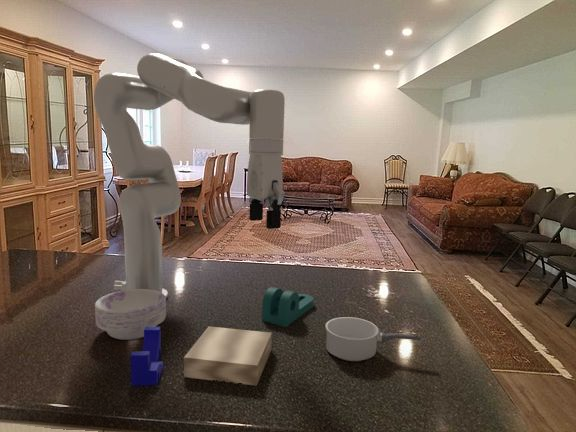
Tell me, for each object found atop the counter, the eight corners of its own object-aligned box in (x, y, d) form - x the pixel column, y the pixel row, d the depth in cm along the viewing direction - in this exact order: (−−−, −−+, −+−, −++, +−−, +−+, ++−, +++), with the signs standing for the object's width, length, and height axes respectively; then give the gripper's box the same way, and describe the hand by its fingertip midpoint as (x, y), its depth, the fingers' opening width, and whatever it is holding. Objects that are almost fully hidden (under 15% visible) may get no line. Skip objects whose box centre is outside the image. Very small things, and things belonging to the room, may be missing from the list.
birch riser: (184, 377, 83) (183, 357, 82) (208, 343, 96) (208, 326, 96) (256, 385, 81) (257, 365, 80) (271, 350, 94) (271, 332, 94)
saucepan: (420, 375, 86) (423, 348, 85) (320, 360, 91) (321, 335, 90) (417, 348, 97) (419, 325, 97) (327, 337, 102) (328, 314, 101)
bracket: (285, 327, 106) (286, 296, 105) (262, 321, 109) (262, 291, 108) (317, 304, 122) (318, 277, 120) (295, 299, 125) (296, 273, 124)
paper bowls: (113, 316, 109) (112, 286, 107) (174, 319, 108) (174, 288, 107) (83, 345, 94) (81, 310, 92) (153, 348, 93) (153, 313, 92)
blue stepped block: (156, 385, 80) (156, 355, 79) (131, 386, 79) (130, 355, 78) (168, 353, 92) (167, 326, 90) (146, 354, 91) (145, 326, 90)
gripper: (236, 146, 103) (235, 218, 106) (266, 149, 88) (264, 233, 90) (265, 147, 106) (264, 216, 109) (299, 149, 91) (296, 230, 94)
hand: (264, 224), depth 100 cm, fingers open, 9 cm apart
